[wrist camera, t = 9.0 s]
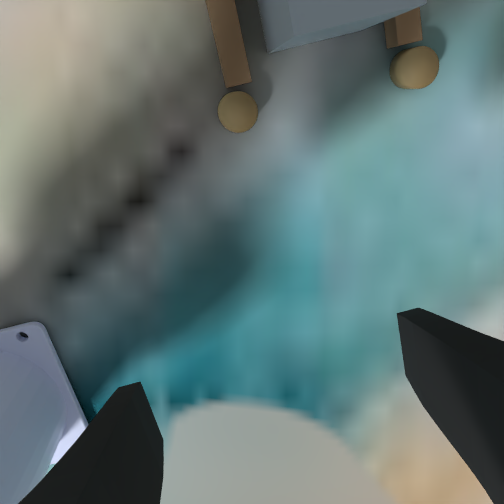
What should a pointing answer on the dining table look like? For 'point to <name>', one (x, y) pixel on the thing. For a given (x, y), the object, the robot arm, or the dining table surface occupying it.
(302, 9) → the panel block
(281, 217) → the dining table surface
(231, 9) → the wooden frame
